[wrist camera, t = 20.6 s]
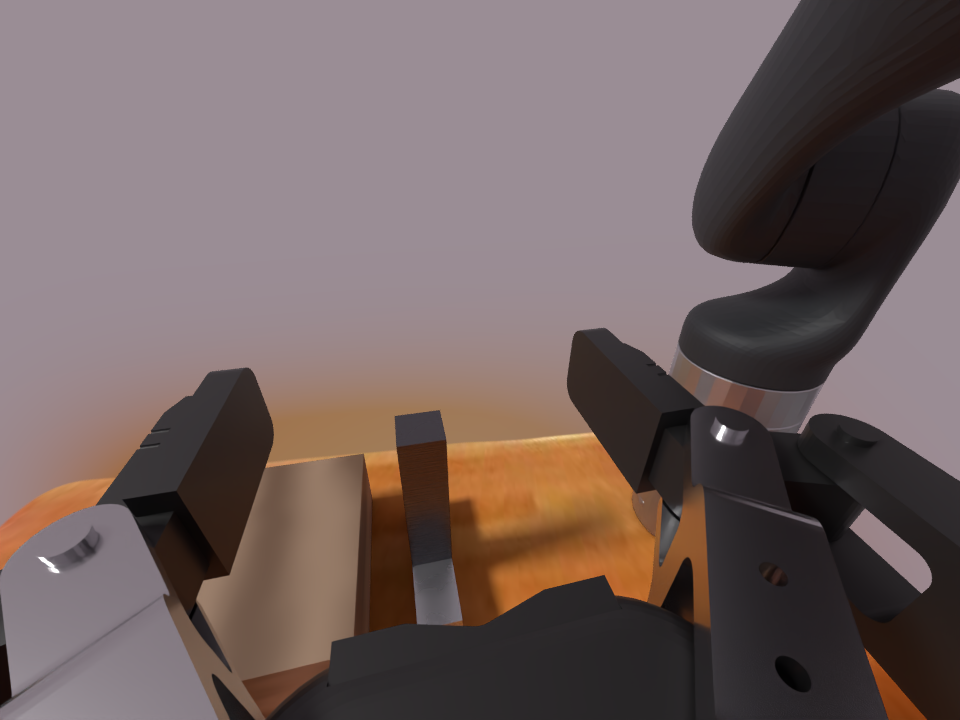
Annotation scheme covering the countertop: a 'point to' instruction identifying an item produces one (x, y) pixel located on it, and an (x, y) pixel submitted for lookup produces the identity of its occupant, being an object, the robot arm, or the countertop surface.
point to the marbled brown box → (296, 576)
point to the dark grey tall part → (428, 516)
